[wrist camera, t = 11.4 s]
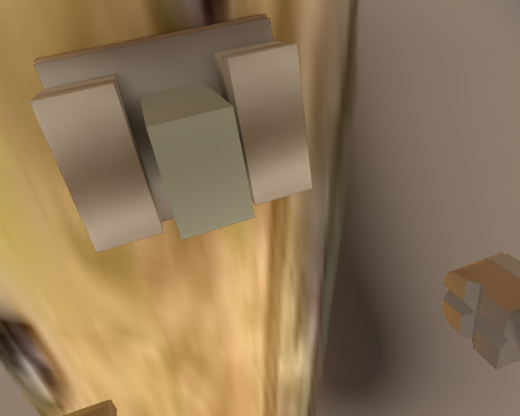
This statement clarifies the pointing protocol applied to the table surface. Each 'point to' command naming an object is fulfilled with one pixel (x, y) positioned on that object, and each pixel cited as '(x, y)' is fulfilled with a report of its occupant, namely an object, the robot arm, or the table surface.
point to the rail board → (134, 128)
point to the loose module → (198, 157)
